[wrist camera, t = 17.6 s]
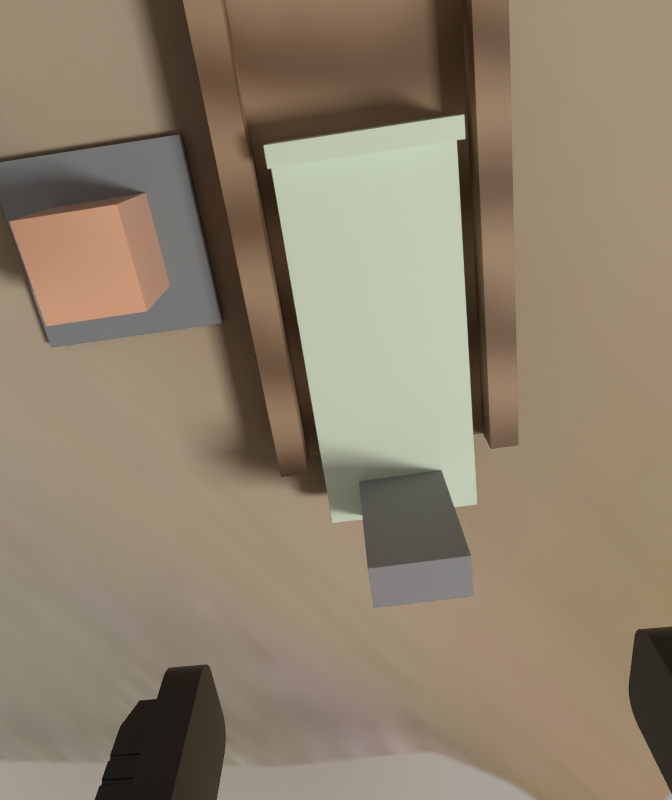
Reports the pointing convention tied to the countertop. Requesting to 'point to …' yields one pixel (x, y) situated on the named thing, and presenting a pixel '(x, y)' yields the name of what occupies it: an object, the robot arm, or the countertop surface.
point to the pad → (171, 212)
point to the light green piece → (386, 341)
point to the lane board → (350, 110)
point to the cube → (92, 259)
